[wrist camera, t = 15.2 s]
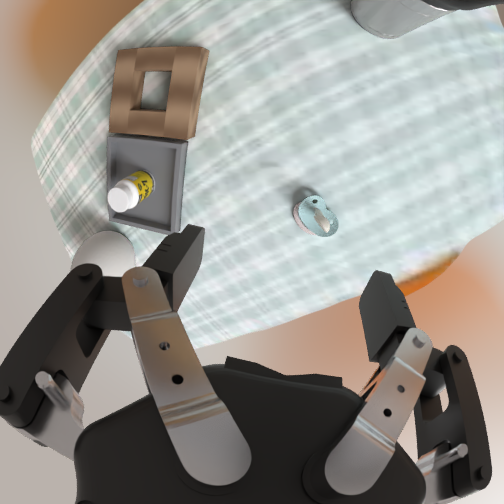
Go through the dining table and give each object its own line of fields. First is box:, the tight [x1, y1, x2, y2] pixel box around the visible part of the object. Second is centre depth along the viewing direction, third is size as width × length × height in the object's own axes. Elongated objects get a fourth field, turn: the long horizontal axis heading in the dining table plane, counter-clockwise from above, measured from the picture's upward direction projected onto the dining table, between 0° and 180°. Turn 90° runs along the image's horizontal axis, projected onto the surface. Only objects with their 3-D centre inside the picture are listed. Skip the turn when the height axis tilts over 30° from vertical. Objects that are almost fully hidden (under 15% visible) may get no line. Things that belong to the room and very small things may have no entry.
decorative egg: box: [70, 231, 136, 277], centre depth 46 cm, size 12×12×15 cm
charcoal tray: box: [107, 134, 188, 235], centre depth 42 cm, size 16×14×2 cm
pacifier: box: [293, 195, 338, 237], centre depth 40 cm, size 7×6×6 cm
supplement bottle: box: [108, 170, 155, 212], centre depth 39 cm, size 5×5×8 cm
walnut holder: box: [109, 47, 209, 140], centre depth 33 cm, size 14×14×4 cm
